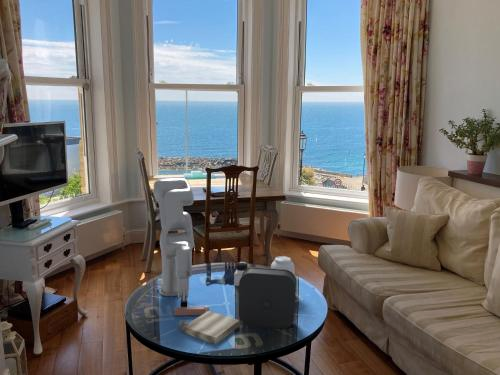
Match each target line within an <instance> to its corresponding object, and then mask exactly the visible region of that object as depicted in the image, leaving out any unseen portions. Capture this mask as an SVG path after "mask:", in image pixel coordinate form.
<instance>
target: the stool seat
mask: <svg viewBox="0 0 500 375" xmlns="http://www.w3.org/2000/svg"><path fill="white" fill-rule="evenodd" d="M239 327H240V319H237V318H233V317H229V316H226V315H223V314H220V313H218V312H214V311H210V310H209V311H207V312H206V313H204V314H203V315H199V316H198V317H196V318H194V319H193V320H191V321H190V322H189V321H185V320H183V319H180V321H179V322H178V330H180V331H182V332H183V334H186V335H188V336H191V337H194V338H197V339H198V340H199V339H200V340H203V341H205V342H207V343H211V344H214V345H217V344H219V342H221V341H222V340H224V339H225V338H226V337H228V336H229V335H230V334H231V333H233V332H234V331H235V330H237V329H238V328H239Z"/></svg>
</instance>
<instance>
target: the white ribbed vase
mask: <svg viewBox="0 0 500 375" xmlns="http://www.w3.org/2000/svg"><path fill="white" fill-rule="evenodd" d="M270 268H271V269H284V270H289V271H290V272H292V273H293V274H294V275H295V272H296V271H295V270H296V269H295V268H296V266H295V263H294V262H293V261H292V258H291V257H289V256H284V255H280V256H276V257H275V258H274V260H273V262H272V263H271V264H270Z"/></svg>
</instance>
